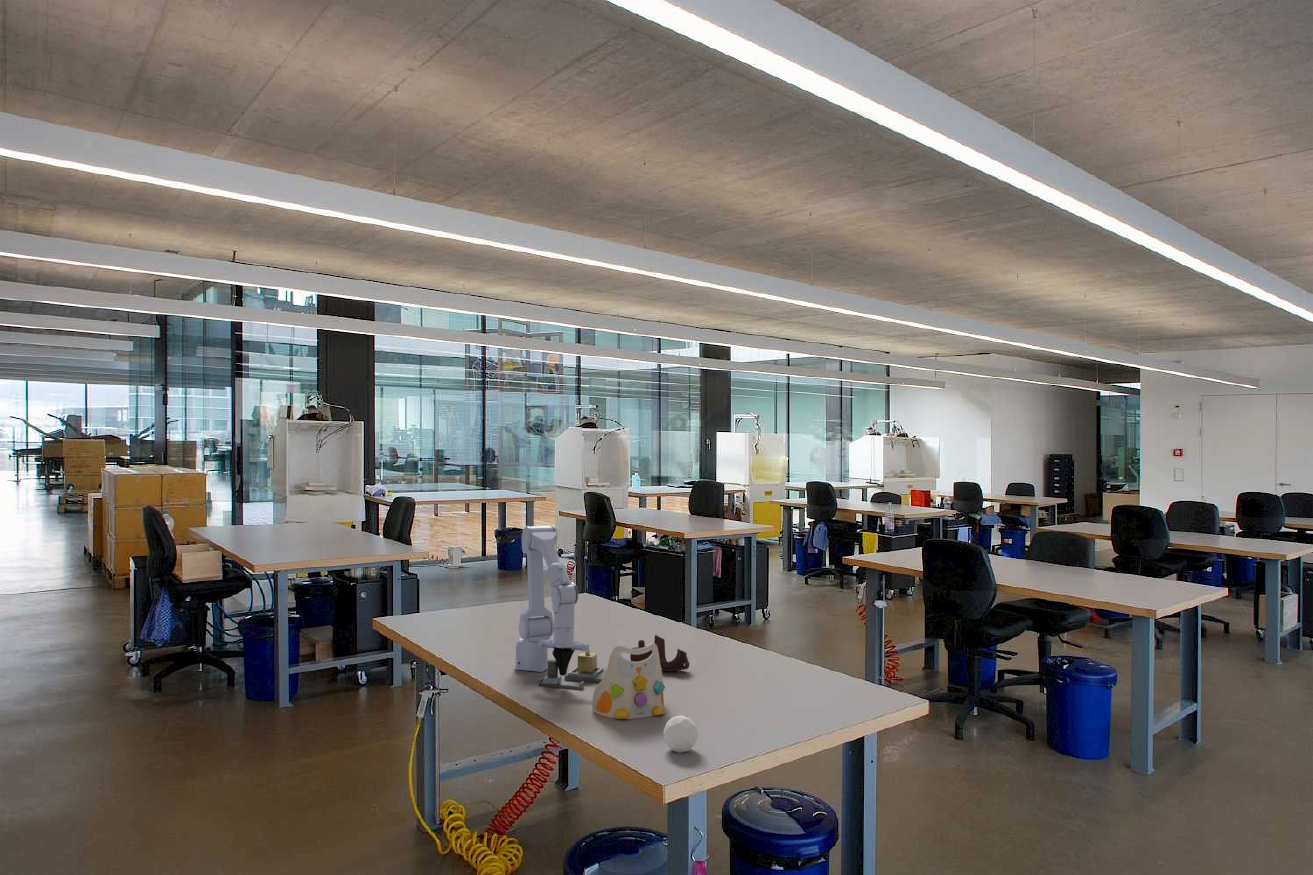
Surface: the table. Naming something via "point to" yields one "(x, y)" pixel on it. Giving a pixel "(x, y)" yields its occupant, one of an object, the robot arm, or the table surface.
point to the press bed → (586, 675)
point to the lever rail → (561, 684)
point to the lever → (552, 673)
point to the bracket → (663, 656)
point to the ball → (680, 733)
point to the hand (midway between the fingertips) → (563, 674)
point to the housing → (587, 663)
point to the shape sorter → (630, 686)
